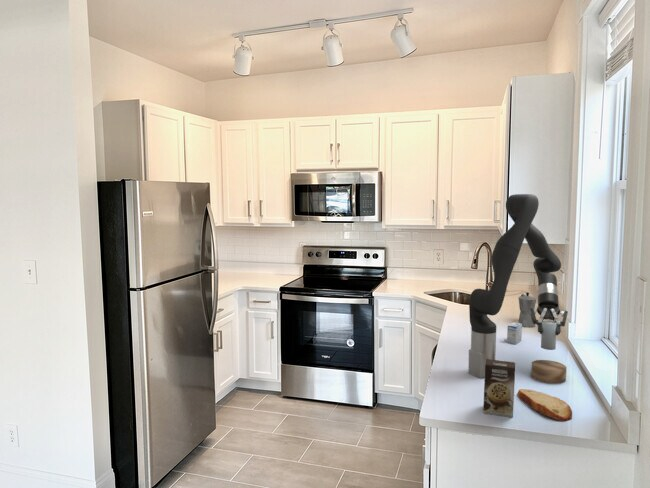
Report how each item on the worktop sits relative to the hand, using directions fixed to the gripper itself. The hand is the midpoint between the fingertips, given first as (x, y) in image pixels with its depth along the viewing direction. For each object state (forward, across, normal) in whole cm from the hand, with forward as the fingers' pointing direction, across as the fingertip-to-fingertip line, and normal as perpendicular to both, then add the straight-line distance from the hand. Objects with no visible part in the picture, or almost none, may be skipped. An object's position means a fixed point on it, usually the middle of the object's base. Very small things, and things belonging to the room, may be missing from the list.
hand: (549, 333), depth 183 cm
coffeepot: (-42, -5, +66) cm, 78 cm away
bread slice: (+34, -4, -10) cm, 36 cm away
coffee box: (+41, -17, -17) cm, 47 cm away
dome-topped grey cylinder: (+3, 0, +6) cm, 6 cm away
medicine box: (-17, -11, +40) cm, 45 cm away
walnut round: (+14, 0, +9) cm, 17 cm away
